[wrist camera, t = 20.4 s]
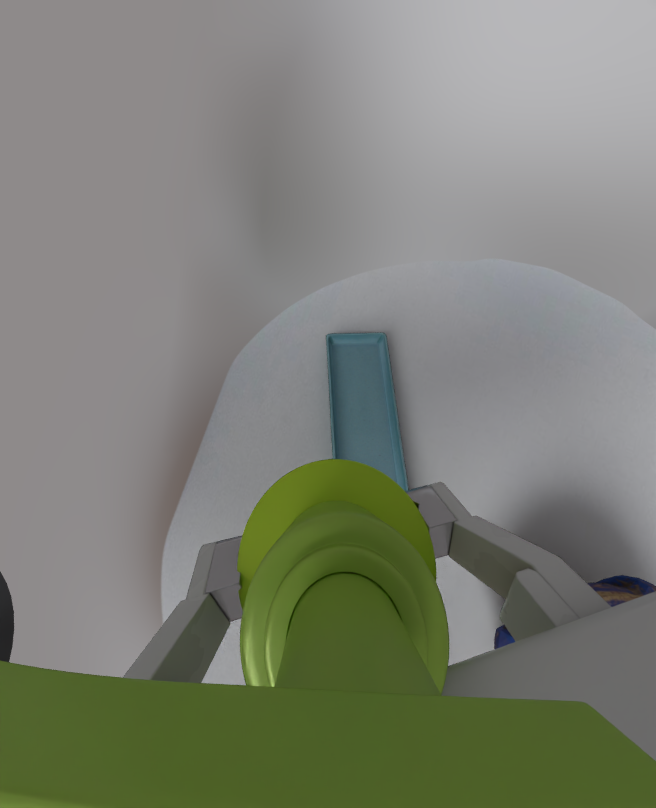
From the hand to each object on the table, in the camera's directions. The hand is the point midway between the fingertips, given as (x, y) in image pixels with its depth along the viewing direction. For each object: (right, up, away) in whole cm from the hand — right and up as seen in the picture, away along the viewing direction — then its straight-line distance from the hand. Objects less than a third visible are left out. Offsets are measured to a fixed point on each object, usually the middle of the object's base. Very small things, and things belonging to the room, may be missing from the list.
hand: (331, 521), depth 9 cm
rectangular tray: (+5, +2, +26) cm, 26 cm away
